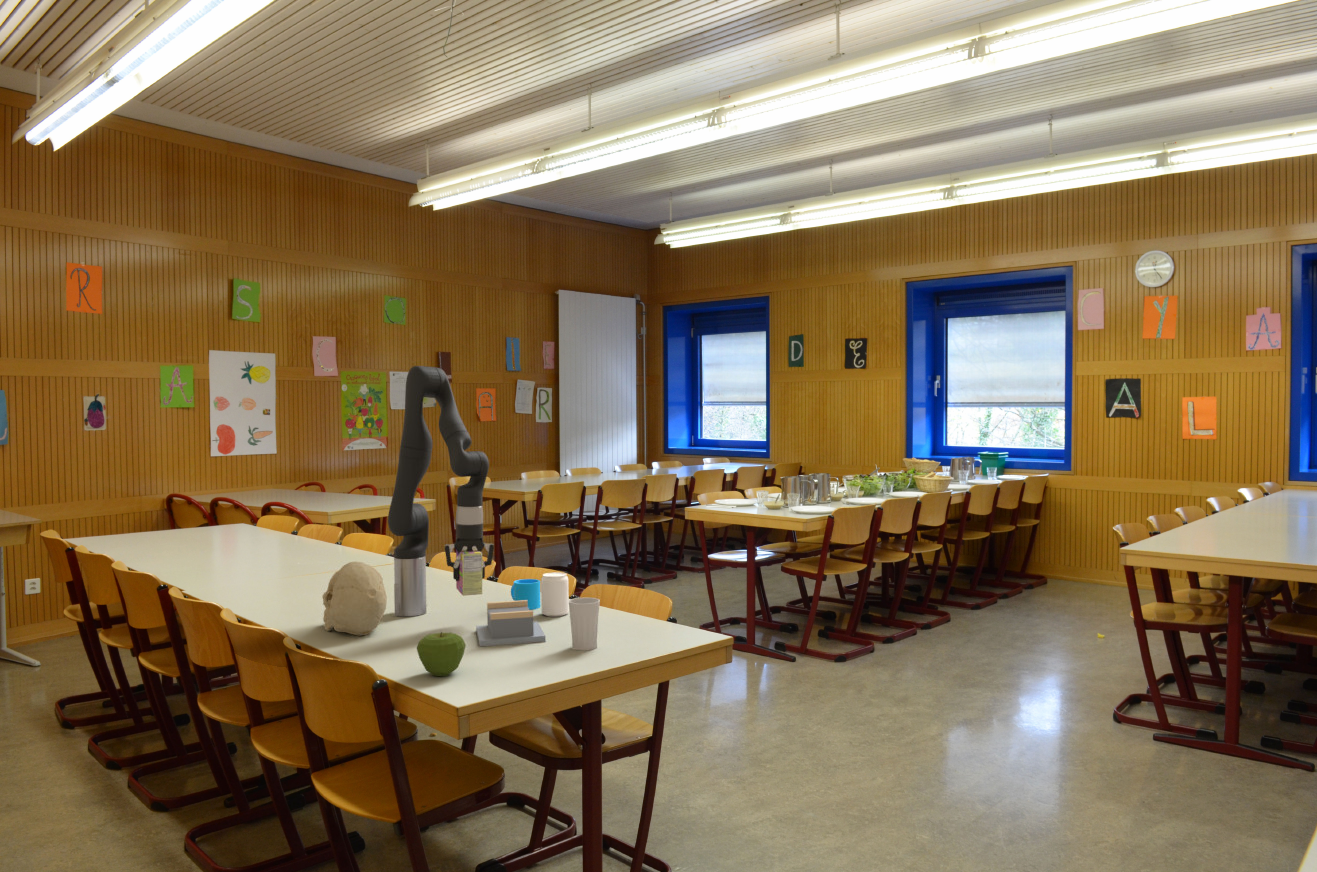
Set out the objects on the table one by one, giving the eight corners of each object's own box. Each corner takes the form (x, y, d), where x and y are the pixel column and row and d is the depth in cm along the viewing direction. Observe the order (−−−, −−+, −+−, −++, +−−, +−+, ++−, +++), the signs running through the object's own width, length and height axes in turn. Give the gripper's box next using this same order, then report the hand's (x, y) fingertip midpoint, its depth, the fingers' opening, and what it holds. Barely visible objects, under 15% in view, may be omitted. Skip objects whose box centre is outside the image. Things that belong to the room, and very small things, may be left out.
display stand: (479, 646, 229) (479, 615, 228) (476, 631, 245) (475, 602, 245) (545, 641, 233) (545, 611, 233) (537, 626, 249) (537, 598, 249)
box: (455, 588, 254) (455, 547, 254) (475, 587, 257) (475, 546, 256) (461, 596, 245) (462, 553, 244) (482, 594, 247) (482, 552, 247)
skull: (355, 617, 262) (356, 550, 260) (398, 636, 243) (398, 564, 242) (306, 625, 251) (306, 556, 250) (346, 646, 233) (347, 571, 232)
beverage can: (574, 613, 265) (573, 574, 265) (553, 618, 259) (553, 577, 259) (556, 609, 271) (556, 571, 271) (536, 614, 265) (535, 574, 265)
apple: (469, 667, 210) (468, 625, 209) (460, 680, 199) (460, 636, 199) (423, 667, 209) (422, 626, 209) (412, 681, 199) (411, 637, 199)
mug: (545, 607, 275) (545, 581, 275) (524, 611, 269) (524, 584, 269) (522, 601, 284) (521, 576, 283) (501, 605, 278) (500, 580, 278)
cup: (588, 652, 221) (587, 605, 221) (562, 648, 226) (562, 601, 225) (606, 645, 228) (605, 599, 228) (581, 641, 232) (581, 596, 232)
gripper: (443, 523, 245) (443, 584, 245) (496, 523, 248) (495, 582, 249) (443, 520, 252) (442, 578, 253) (494, 519, 255) (493, 577, 256)
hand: (469, 580), depth 251 cm, fingers closed on box, 6 cm apart
